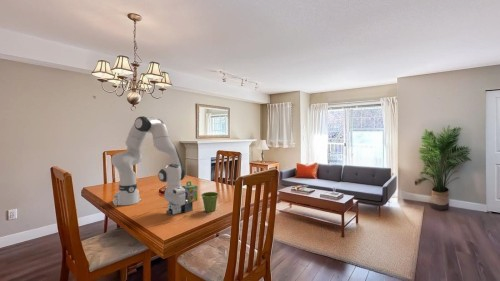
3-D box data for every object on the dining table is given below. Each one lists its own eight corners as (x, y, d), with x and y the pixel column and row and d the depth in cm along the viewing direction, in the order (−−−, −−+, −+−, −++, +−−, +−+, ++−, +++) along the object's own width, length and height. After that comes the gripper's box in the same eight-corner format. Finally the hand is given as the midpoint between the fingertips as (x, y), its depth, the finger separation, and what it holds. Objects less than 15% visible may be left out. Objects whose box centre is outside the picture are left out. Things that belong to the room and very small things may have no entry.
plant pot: (197, 210, 161) (197, 194, 160) (212, 206, 169) (212, 191, 168) (207, 214, 152) (207, 197, 152) (222, 210, 160) (222, 194, 160)
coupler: (163, 213, 155) (163, 203, 155) (184, 207, 167) (184, 197, 167) (171, 216, 148) (171, 206, 148) (192, 210, 160) (192, 200, 160)
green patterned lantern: (189, 203, 177) (188, 183, 176) (180, 201, 182) (180, 182, 181) (198, 200, 185) (197, 181, 184) (189, 198, 190) (189, 180, 189)
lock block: (167, 212, 155) (167, 203, 155) (176, 210, 160) (176, 201, 160) (172, 214, 151) (172, 205, 151) (181, 212, 156) (180, 203, 156)
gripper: (161, 187, 159) (162, 206, 160) (178, 192, 146) (178, 214, 146) (170, 185, 164) (170, 204, 165) (187, 190, 151) (187, 211, 151)
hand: (174, 209), depth 155 cm, fingers closed on lock block, 6 cm apart
